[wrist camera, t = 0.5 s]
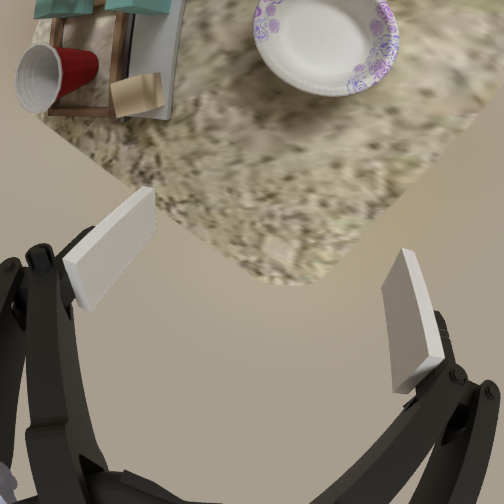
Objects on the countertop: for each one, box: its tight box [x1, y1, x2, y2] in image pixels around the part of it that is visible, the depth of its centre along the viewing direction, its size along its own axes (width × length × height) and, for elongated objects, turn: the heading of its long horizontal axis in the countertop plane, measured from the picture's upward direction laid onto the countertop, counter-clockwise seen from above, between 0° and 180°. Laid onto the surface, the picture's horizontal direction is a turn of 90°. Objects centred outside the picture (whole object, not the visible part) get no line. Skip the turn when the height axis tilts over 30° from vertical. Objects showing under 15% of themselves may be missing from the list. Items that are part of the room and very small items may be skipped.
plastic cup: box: [14, 43, 99, 114], centre depth 31 cm, size 11×11×12 cm
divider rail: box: [120, 13, 136, 122], centre depth 33 cm, size 22×1×2 cm, turn 171°
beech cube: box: [110, 72, 165, 118], centre depth 33 cm, size 5×5×5 cm
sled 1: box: [34, 0, 129, 118], centre depth 29 cm, size 22×16×11 cm
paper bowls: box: [253, 0, 399, 97], centre depth 25 cm, size 15×15×8 cm
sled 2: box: [105, 0, 186, 120], centre depth 29 cm, size 20×7×10 cm, turn 171°
